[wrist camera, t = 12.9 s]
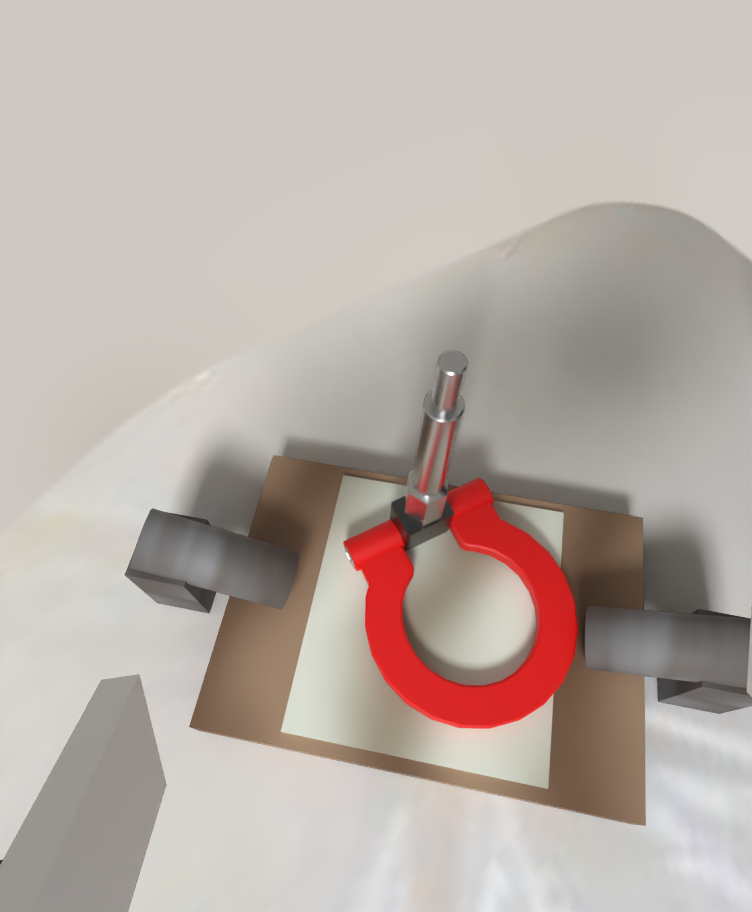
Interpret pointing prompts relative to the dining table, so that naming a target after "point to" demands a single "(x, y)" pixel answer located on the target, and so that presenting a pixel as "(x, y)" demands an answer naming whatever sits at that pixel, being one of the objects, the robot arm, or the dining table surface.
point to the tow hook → (474, 530)
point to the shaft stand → (436, 641)
